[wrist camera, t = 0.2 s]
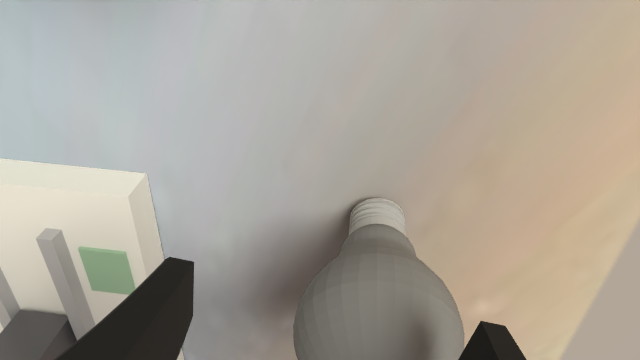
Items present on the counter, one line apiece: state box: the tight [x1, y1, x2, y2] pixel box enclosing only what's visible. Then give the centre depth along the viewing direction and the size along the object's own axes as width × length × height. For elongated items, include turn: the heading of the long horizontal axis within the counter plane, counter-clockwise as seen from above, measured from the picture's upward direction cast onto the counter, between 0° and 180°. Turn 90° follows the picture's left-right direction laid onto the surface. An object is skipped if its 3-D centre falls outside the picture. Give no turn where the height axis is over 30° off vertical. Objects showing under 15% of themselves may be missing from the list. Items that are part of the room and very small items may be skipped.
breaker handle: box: [0, 310, 77, 360], centre depth 25 cm, size 2×3×4 cm
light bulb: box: [294, 198, 464, 360], centre depth 18 cm, size 6×6×10 cm
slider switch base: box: [0, 158, 184, 360], centre depth 27 cm, size 20×13×3 cm, turn 177°
